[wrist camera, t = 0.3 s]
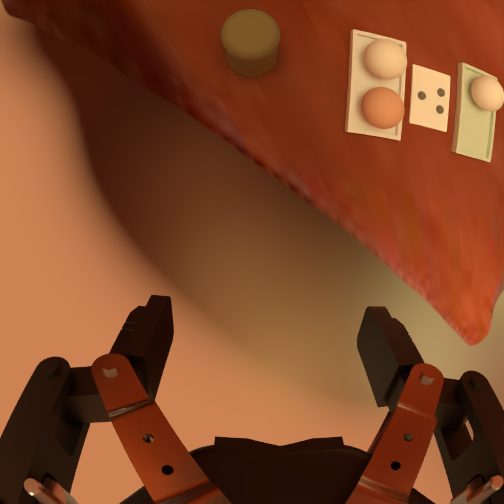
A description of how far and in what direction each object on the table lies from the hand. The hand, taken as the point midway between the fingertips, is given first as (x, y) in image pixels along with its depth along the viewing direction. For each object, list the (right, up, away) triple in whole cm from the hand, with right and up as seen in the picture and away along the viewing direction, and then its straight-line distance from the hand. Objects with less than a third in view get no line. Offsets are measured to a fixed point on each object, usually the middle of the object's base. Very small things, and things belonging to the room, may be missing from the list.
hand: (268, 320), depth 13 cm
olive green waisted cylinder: (-1, +25, +19) cm, 32 cm away
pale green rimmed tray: (+30, +22, +20) cm, 42 cm away
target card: (+22, +22, +20) cm, 37 cm away
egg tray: (+14, +23, +20) cm, 33 cm away
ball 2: (+14, +20, +20) cm, 32 cm away
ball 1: (+14, +25, +18) cm, 34 cm away
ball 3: (+30, +25, +18) cm, 43 cm away
